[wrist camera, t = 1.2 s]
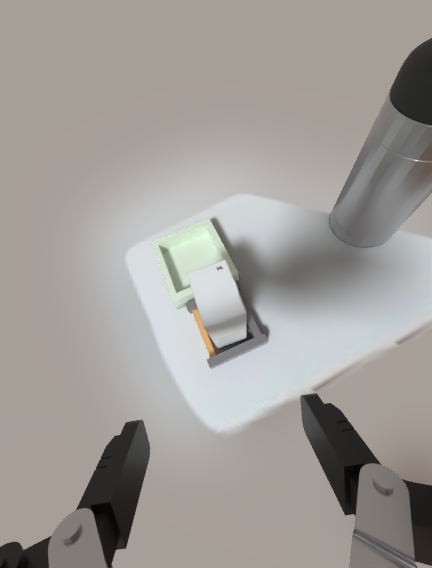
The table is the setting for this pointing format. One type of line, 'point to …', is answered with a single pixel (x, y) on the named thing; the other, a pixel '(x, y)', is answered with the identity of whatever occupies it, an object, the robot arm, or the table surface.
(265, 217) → the table surface
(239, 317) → the skincare box
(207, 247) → the parts tray
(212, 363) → the grey shallow square tray
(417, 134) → the robot arm
